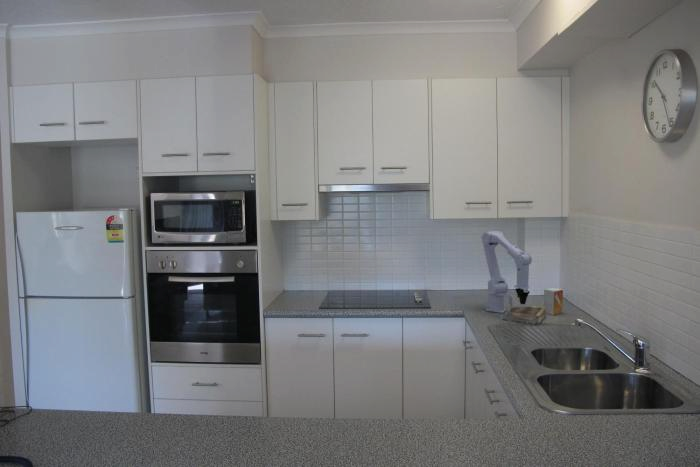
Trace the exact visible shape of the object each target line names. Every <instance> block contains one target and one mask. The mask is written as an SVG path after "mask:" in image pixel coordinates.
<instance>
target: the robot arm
mask: <svg viewBox="0 0 700 467" xmlns="http://www.w3.org/2000/svg"><path fill="white" fill-rule="evenodd" d="M481 241H482V245H483V250H484V254H485V258H486V259H485V260H486V264H487V267H488V272H489V275H490V278H489V280H488V281H487V291H488V293H487V294H486V300H485V311H486V312H494V313H499V314H503V313H505V312H506V310H507V308H505V304H506V301H505V300H506V298H505V296H506V295H507V293H508V292H509V286H508V284H507V281H506V279H505V278H504V277H503V276H501V272H500V267H499V264H498V259H497V253H496V251H495V250H496V249H495V248H497V247H498V245H500V246H501V247H503V248H504V249H505V250H507V254H508V255H509V256H510V257H511V258H513V259H512V260H514V263H515V268H516V284H515V285H514V288H515V292H516V296H520V303H521V304H525V303H526V299H527V296H529V294H530V291H529V287H530V286H529V278H530V277H529V276H530V274H529V273H530V272H529V271H530V265H531V264H532V261H533V260H532V256H531V254H530V253H525V252H524V251H523V250H521V248H519V246H518V245H515V244H513V245H512V244H511V242H509V241H508V239H507V238H506V237H505V235H504V233H503V232H502V231H500V230H493V231H492V230H491V231H484V232H483V234H482V236H481Z"/></svg>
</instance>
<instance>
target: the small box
mask: <svg viewBox="0 0 700 467" xmlns="http://www.w3.org/2000/svg"><path fill="white" fill-rule="evenodd" d="M563 297H564V289H562V288H556V287H551V288H544V290H543V307H544V308H546V315H551V316H555V315H558V314H562V313H563V299H564V298H563Z"/></svg>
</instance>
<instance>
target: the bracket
mask: <svg viewBox="0 0 700 467" xmlns="http://www.w3.org/2000/svg"><path fill="white" fill-rule="evenodd" d="M508 304H509V305H511V306H512V307H533V297H532V296H531V295H528V296H527V299H526V303H525V304H521V303H520V296H518V295H517V294H509V295H508Z"/></svg>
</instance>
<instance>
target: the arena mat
mask: <svg viewBox="0 0 700 467" xmlns="http://www.w3.org/2000/svg"><path fill="white" fill-rule="evenodd" d="M502 319H504V320H503V321H507V320H511V321H510V322H514V321H518V322H517V323H521V322H528V323H527V324H529V323H535V324H534V325H536V315H534V314H526V313H518V312H510V311H509V312H508V313H507V314H506V315H504V317H503V318H502ZM544 319H545V318H543V320H544Z"/></svg>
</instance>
